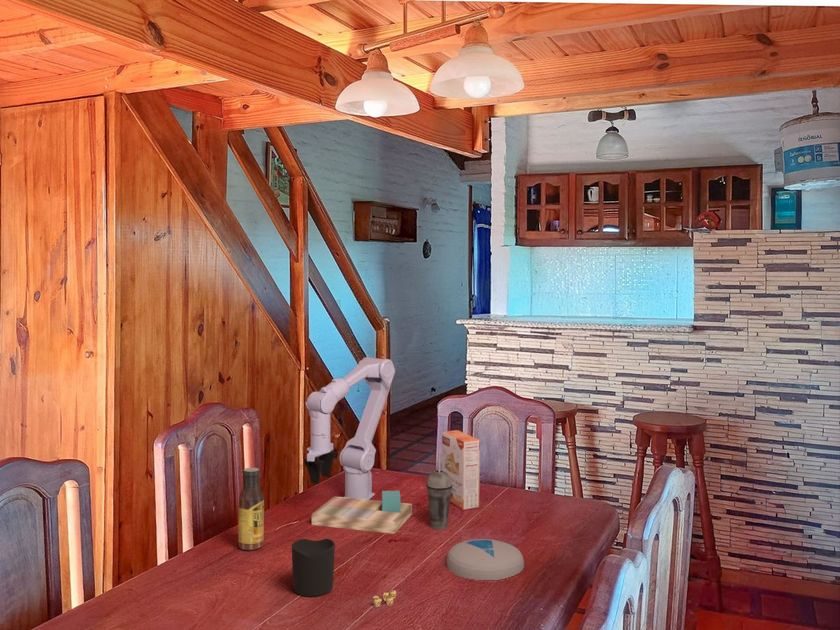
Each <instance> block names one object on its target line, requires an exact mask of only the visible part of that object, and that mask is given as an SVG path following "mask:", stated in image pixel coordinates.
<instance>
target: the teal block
mask: <svg viewBox="0 0 840 630" xmlns="http://www.w3.org/2000/svg"><path fill="white" fill-rule="evenodd" d="M381 501H382V511H387V512H397V513H400V503H401V493H400V490H381Z"/></svg>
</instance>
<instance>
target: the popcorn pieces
mask: <svg viewBox="0 0 840 630" xmlns="http://www.w3.org/2000/svg"><path fill="white" fill-rule="evenodd" d="M382 596H383V597H382V598H380V596H377V595H374V596H373V597H372V600H373V601H372V605H373V607H375V608H378V607H380V606H381V602H382V601H384V602H385V603H386V604H385V605H386V606H393V605H394V599H397V591H396V589H390V590H389V591H388V592H383V595H382Z"/></svg>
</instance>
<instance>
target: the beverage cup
mask: <svg viewBox="0 0 840 630" xmlns="http://www.w3.org/2000/svg"><path fill="white" fill-rule="evenodd" d="M437 458H438V461H437V462H438V463H437V464H438V465H437V467H438V470H434V471H433V472H431V474H429V476H428V478H427V480H426V484H425V487H426V492H427V499H428V510H429V512H428V513H429V522H430V528H431V529H433V530H437V531H438V530H439V531H440V530H441V531H442V530H446V529H447V528H448V523H449V515H450V503H451V502H450V494H451V491H452V487H453V486H452V481H451V478H450V476H449V475H448V474H447V473H446V472H444V471H442V469H441V456H440V455H438V456H437Z"/></svg>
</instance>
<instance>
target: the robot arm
mask: <svg viewBox="0 0 840 630" xmlns="http://www.w3.org/2000/svg"><path fill="white" fill-rule="evenodd" d="M395 373H396V369H395V365H394V363H393V361H392V360H391V359H389V358H386V359H384V358H376V357H370V356H366V357H363V358H362V359H361V360H359V361H358V363H357V366H356V367H354V368H353V369H352V370H351V371H350V372H349V373H348V374H346V375H345V376H344V377H342V378H339V377H338V378H335V377H334V378H333V379H331V382H330V383H328V384H327V385H325V386H323V387H321V388H320V390H318V391H313V392H311V394H309V396H307V400H306V402H305V406H306V409H307V410H308V416H309V417H310V446H308V447H307V448H306V451H308V453H307V454H306V458H304V459H303V464H304V465H305V467H306V469H307V471H308V475H309V479H310V483H311V484H312V485H313V484H314V485H319V484H320V480H321V477H327V478H328V477H330V475H331V470H332V466H333V463H334V460H335V457H336V456H337V454H338V453H337V451H335V450H334V443H333V442H331V413H332V412H333V411H334V409H335V407H336V405H337V403H338V402H339V401H340V400H342V399H343V398H345V397H346V396H347V395H349V393H350V389H351V388H352V387H353V386H355V385H356V384H358V383H360V382H361V381H362V380H364V381H365V382H366V383H367V385H368V386H369V387H370V393H369V396H368V399H367V402H366V404H365V407H364V410H363V413H362V416H361V418H360V421H359V424H358V427H357V430H356V432H355V435H354V437H352V438H351V439H349V440H348V441H346V442H345V443H346V444H345V446H344V448H343V449H342V450H341V451H340V454H339V463H340V465H341V466H342V468H343V471H344V473H345V474H344V496H343V497H346V498H356V499H366V500H371V499H372V498H373V497H374V496H375V494H376V493H375V492H372V491H373V488H372V487H373V474H372V472H371V470H372V468H373V466H374V465H375V456H376V452H377V450H376V447H375V446H374V444H373V443H372V441H373V439H374V436H375V433H376V430H377V428H378V425H379V422H380V419H381V417H382V413H383V410H384V407H385V404H386V402H387V398H388V395H389V394H390V390H391V384H392V382H393V379H394V377H395ZM333 450H334V451H333Z"/></svg>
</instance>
